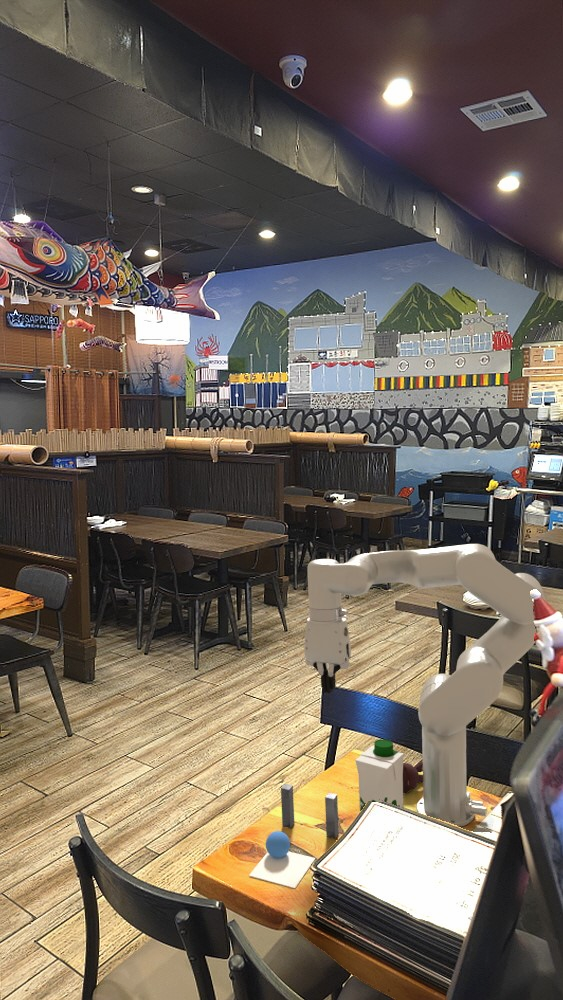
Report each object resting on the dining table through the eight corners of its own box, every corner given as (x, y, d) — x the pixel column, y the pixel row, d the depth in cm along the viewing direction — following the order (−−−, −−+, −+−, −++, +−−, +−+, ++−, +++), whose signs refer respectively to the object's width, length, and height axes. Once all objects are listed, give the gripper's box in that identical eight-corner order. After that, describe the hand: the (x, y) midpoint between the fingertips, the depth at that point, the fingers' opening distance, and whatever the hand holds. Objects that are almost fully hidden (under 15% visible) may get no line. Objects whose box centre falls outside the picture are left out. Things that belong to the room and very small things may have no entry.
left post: (294, 823, 155) (292, 785, 154) (290, 828, 153) (289, 789, 152) (286, 822, 156) (284, 783, 155) (282, 826, 154) (280, 788, 153)
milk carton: (409, 832, 150) (407, 743, 148) (390, 854, 143) (387, 760, 141) (373, 820, 155) (370, 734, 153) (353, 841, 148) (350, 750, 146)
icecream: (391, 781, 159) (439, 768, 167) (372, 761, 165) (419, 750, 173) (385, 807, 161) (433, 793, 169) (366, 786, 167) (413, 773, 175)
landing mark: (315, 859, 142) (315, 858, 142) (295, 888, 133) (295, 887, 133) (271, 848, 146) (271, 847, 146) (249, 876, 138) (248, 875, 138)
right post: (338, 834, 151) (337, 794, 150) (335, 839, 149) (333, 799, 148) (330, 832, 151) (328, 792, 151) (326, 837, 150) (325, 797, 149)
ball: (279, 863, 140) (290, 860, 144) (286, 837, 141) (296, 835, 145) (258, 853, 142) (269, 851, 146) (265, 828, 143) (276, 826, 147)
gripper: (362, 611, 160) (364, 689, 161) (302, 607, 166) (305, 681, 168) (350, 620, 153) (353, 701, 155) (289, 615, 159) (292, 692, 161)
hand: (328, 690), depth 161 cm, fingers closed
